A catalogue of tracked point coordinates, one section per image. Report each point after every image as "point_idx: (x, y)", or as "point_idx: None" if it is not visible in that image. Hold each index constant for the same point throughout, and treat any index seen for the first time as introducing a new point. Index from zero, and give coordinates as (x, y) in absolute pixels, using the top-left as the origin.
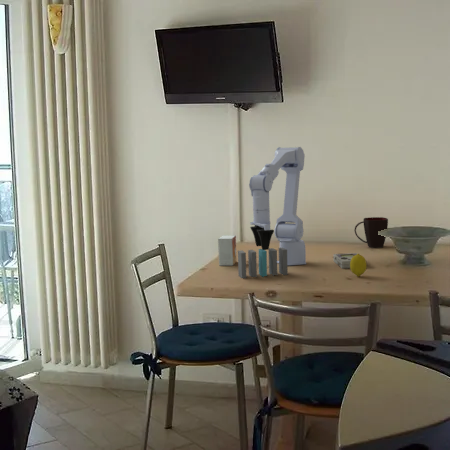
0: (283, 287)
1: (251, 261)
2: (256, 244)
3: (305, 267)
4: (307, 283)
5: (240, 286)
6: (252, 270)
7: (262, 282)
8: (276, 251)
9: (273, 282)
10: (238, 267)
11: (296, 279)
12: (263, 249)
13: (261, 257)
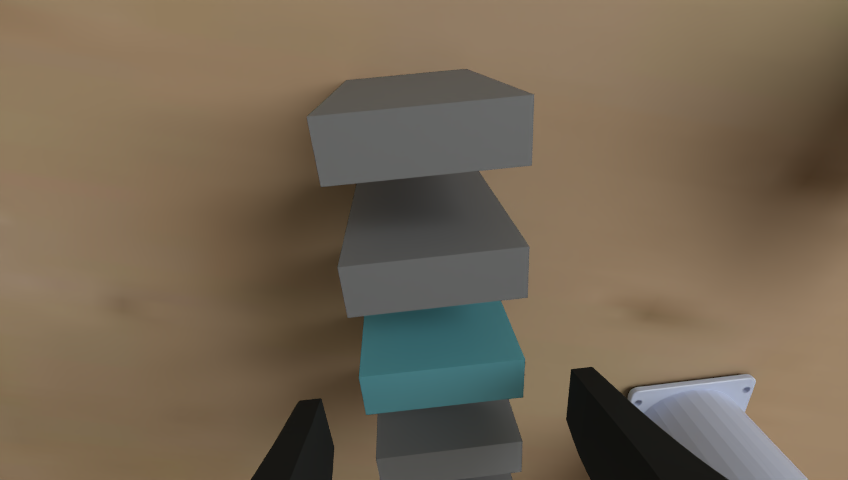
0: (26, 315)
1: (370, 214)
2: (582, 383)
3: (547, 469)
4: (148, 434)
5: (24, 12)
6: (357, 189)
7: (185, 214)
8: (382, 477)
9: (182, 281)
10: (471, 74)
11: (259, 402)
12: (296, 411)
13: (394, 324)
